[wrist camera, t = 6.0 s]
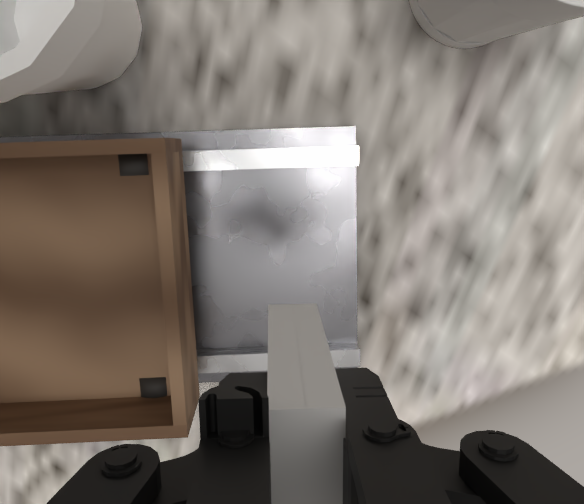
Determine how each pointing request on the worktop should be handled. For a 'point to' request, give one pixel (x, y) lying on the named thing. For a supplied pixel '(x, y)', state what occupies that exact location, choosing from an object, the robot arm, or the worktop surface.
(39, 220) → the open wooden crate
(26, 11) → the foam cup
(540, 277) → the worktop surface
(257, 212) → the grey metal tray
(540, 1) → the cup
